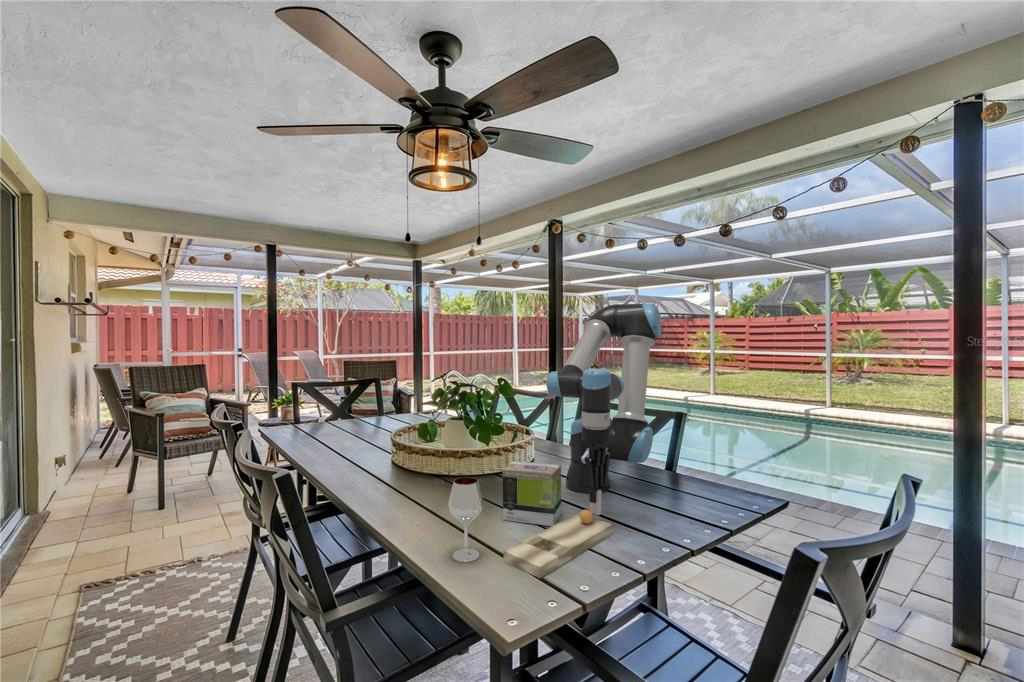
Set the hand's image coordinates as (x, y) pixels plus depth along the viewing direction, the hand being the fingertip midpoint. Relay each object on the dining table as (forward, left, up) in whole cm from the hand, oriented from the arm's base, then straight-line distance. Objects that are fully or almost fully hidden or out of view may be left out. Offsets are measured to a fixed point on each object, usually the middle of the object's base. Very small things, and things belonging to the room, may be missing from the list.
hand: (595, 513), depth 128 cm
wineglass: (-14, -34, -4) cm, 37 cm away
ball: (0, -4, 0) cm, 4 cm away
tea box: (-17, -6, -4) cm, 19 cm away
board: (0, -15, -4) cm, 16 cm away
